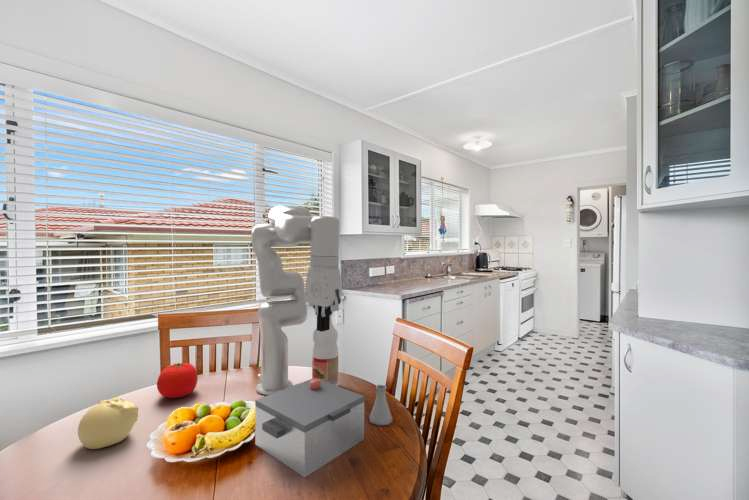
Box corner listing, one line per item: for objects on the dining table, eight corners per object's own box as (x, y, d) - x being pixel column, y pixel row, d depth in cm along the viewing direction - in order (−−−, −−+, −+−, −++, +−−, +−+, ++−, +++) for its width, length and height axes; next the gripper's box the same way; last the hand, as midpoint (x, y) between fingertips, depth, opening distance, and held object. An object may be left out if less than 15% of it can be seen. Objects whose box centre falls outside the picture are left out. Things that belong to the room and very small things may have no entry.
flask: (391, 427, 98) (391, 392, 98) (366, 424, 99) (366, 390, 99) (394, 415, 105) (394, 382, 105) (371, 413, 106) (371, 381, 106)
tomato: (199, 386, 126) (199, 356, 126) (194, 400, 114) (194, 367, 114) (162, 390, 122) (162, 359, 122) (153, 406, 110) (153, 372, 110)
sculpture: (145, 433, 94) (145, 394, 94) (98, 459, 83) (98, 414, 83) (116, 426, 98) (116, 388, 98) (67, 449, 86) (67, 407, 86)
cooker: (246, 448, 87) (246, 409, 87) (320, 412, 106) (320, 380, 106) (295, 483, 74) (295, 437, 74) (369, 435, 93) (370, 398, 93)
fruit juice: (340, 392, 122) (340, 313, 121) (313, 394, 119) (313, 314, 119) (336, 381, 131) (336, 308, 130) (311, 384, 128) (311, 309, 128)
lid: (255, 405, 89) (255, 392, 89) (314, 382, 104) (314, 371, 104) (309, 435, 75) (309, 419, 75) (368, 403, 90) (368, 390, 90)
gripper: (295, 261, 94) (294, 327, 95) (333, 265, 84) (331, 339, 85) (317, 260, 100) (315, 322, 100) (354, 263, 90) (352, 333, 91)
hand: (323, 330), depth 93 cm, fingers closed
